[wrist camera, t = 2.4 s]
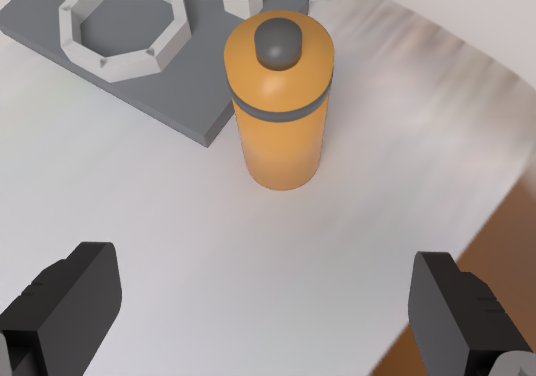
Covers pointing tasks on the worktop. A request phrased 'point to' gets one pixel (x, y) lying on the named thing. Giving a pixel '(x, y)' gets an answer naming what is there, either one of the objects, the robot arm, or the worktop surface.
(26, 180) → the worktop surface
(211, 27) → the board
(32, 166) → the worktop surface
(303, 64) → the orange bottle
